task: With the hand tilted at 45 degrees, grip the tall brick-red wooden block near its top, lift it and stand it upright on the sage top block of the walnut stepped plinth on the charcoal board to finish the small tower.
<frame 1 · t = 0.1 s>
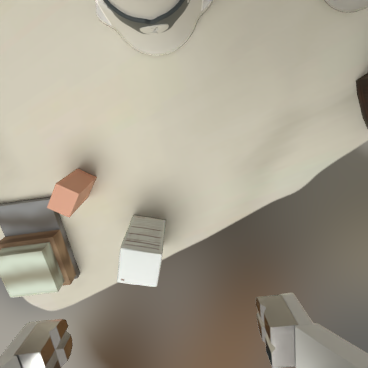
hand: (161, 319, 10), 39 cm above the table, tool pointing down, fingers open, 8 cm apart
supplement box: (147, 230, 53), on the table
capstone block: (83, 183, 49), on the table
build plinth: (45, 252, 54), on the table
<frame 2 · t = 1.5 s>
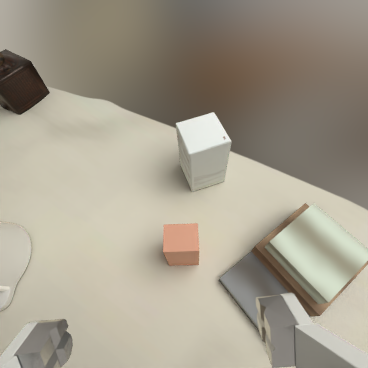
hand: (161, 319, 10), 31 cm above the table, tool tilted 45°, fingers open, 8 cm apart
supplement box: (201, 173, 50), on the table
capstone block: (183, 253, 42), on the table
build plinth: (300, 259, 40), on the table
manual coffee grinder: (29, 101, 64), on the table
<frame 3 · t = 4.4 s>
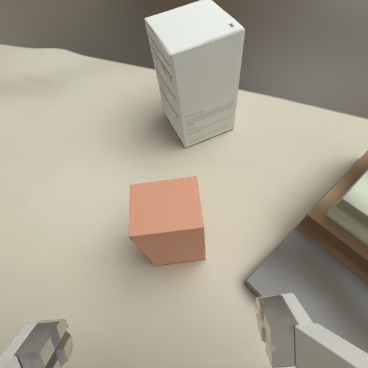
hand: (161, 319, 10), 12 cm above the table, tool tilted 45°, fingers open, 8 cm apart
supplement box: (197, 122, 33), on the table
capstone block: (178, 242, 24), on the table
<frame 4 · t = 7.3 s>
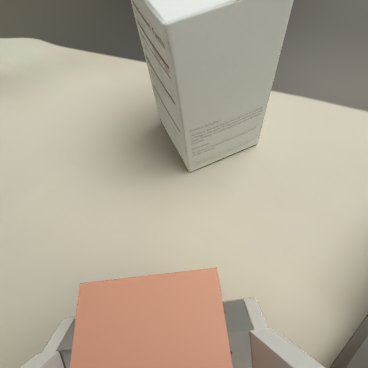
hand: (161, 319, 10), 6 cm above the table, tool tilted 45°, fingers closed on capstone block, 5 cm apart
supplement box: (206, 134, 24), on the table
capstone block: (179, 333, 15), on the table, touching gripper
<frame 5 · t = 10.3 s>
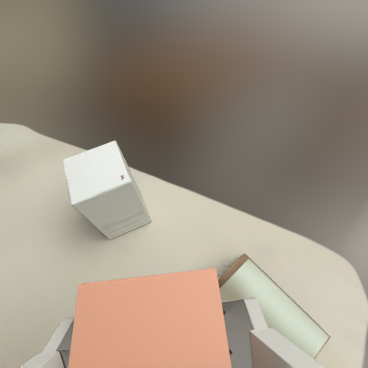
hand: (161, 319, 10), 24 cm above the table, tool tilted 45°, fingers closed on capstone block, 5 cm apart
supplement box: (124, 213, 40), on the table
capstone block: (179, 333, 15), point 18 cm above the table, touching gripper
build plinth: (243, 330, 30), on the table
when the fingers open (15 cm above the table, at t = 13.6 s): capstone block drops 1 cm, resting on build plinth.
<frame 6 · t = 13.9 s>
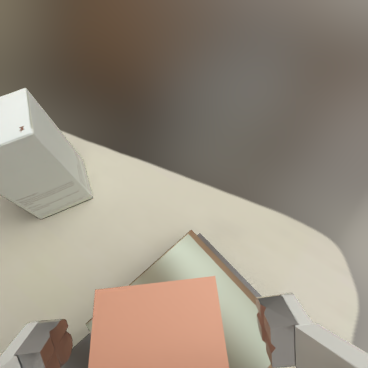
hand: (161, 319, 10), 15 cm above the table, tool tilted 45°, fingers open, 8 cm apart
supplement box: (63, 188, 33), on the table
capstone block: (181, 333, 17), point 7 cm above the table, touching build plinth
build plinth: (190, 330, 23), on the table
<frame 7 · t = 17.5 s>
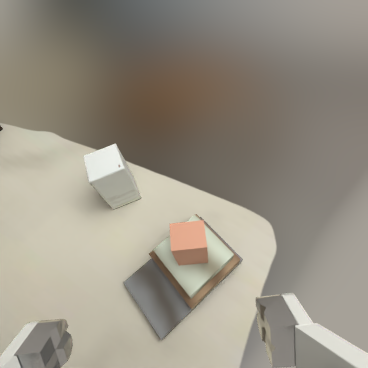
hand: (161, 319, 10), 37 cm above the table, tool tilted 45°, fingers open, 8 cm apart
supplement box: (123, 192, 58), on the table
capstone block: (192, 252, 41), point 7 cm above the table, touching build plinth
build plinth: (195, 262, 48), on the table
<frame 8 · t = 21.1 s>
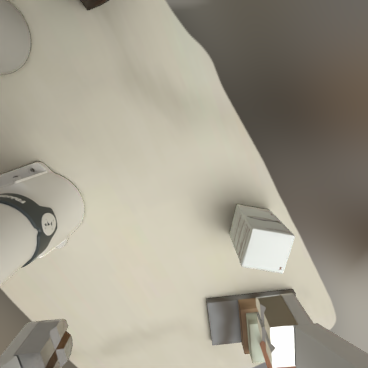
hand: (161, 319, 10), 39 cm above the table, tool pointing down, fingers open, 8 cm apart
supplement box: (248, 221, 51), on the table
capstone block: (274, 341, 49), point 7 cm above the table, touching build plinth
build plinth: (263, 313, 57), on the table
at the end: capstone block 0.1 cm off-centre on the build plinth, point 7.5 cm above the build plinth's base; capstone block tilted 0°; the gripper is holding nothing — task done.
